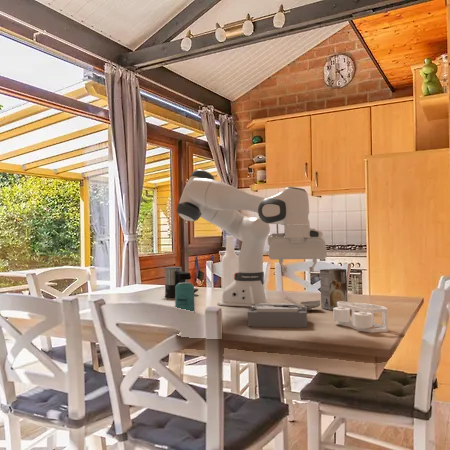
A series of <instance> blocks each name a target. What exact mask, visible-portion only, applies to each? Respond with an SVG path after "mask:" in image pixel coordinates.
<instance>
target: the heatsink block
mask: <svg viewBox="0 0 450 450" xmlns="http://www.w3.org/2000/svg"><path fill="white" fill-rule="evenodd" d="M252 305H255V304H252ZM302 305H304V306H302V308H300V307H298V306H296V305H295V304H293V303H281V302H279V303H278V302H277V303H271V302H269V303H268V302H267V303H260V304H259V306H274V307H257V309H254V306H249V310H248V311H247V327H248V326H252V328H254V327H255V328H257V327H258V328H262V327H264V328H308V310H307V307H305V304H302Z"/></svg>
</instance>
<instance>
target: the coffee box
mask: <svg viewBox="0 0 450 450" xmlns="http://www.w3.org/2000/svg"><path fill="white" fill-rule="evenodd" d="M319 278H320V279H319V280H320V306H321V307H320V308H321V309H325V310H329V311H333V308H336V307H339V306H337V302H339V301H343V302H348V281H347V280H348V279H347V269H346V268H338V267H337V268H325V269H323V268H322V269H319Z"/></svg>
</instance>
